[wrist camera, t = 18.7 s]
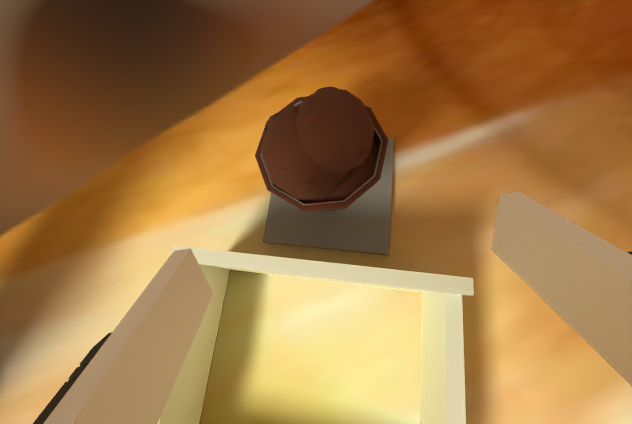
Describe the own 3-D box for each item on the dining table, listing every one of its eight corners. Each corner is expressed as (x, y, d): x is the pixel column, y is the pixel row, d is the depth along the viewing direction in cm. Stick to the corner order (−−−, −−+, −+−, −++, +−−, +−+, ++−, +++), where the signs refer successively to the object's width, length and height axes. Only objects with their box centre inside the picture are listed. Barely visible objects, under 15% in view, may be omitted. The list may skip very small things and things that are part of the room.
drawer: (179, 459, 25) (94, 545, 17) (222, 258, 31) (173, 245, 22) (434, 519, 22) (489, 665, 14) (433, 281, 27) (473, 277, 19)
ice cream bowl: (351, 134, 33) (353, 13, 18) (391, 214, 29) (432, 141, 15) (271, 167, 33) (211, 71, 18) (302, 250, 29) (259, 212, 15)
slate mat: (264, 242, 31) (262, 241, 30) (282, 136, 34) (281, 133, 34) (388, 254, 29) (389, 254, 28) (393, 140, 32) (393, 138, 32)
